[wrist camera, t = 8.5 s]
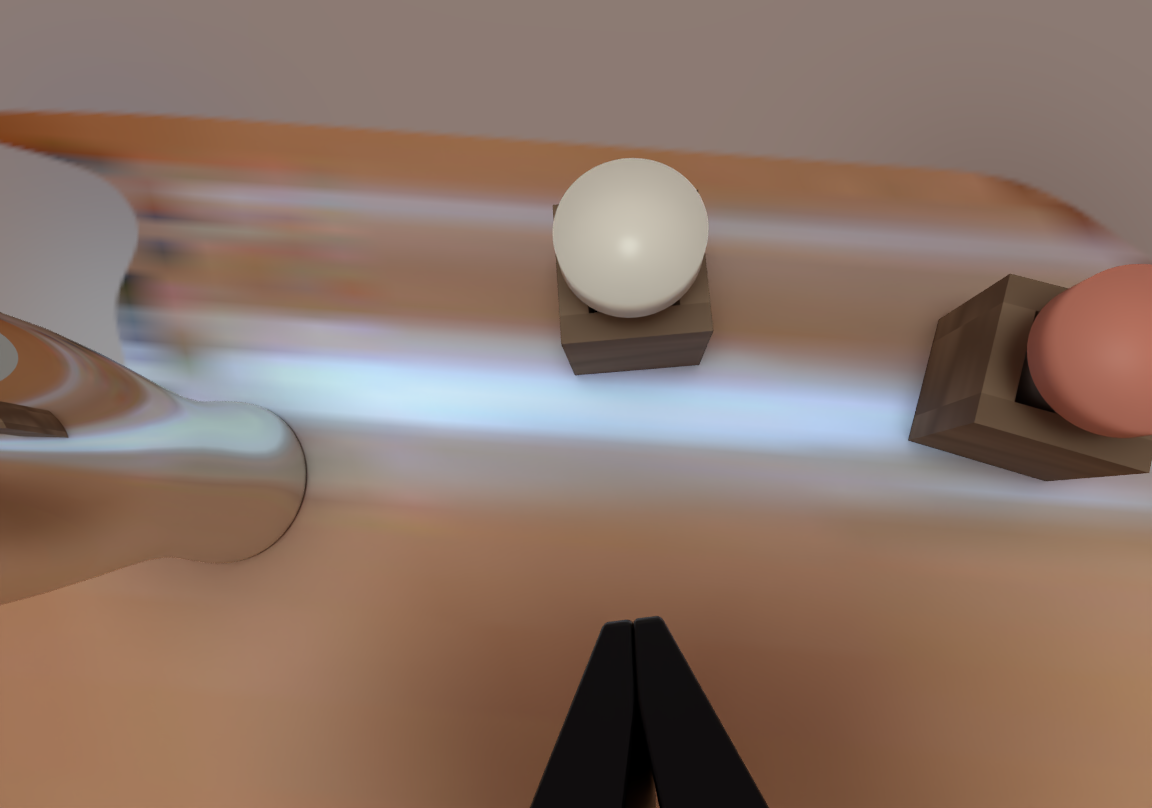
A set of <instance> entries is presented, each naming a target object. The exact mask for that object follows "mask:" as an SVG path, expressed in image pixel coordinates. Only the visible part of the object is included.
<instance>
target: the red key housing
mask: <svg viewBox="0 0 1152 808" xmlns="http://www.w3.org/2000/svg"><path fill="white" fill-rule="evenodd" d="M1067 289H1068V288H1064V287H1060V286H1056V285H1052V284H1048V283H1044V282H1040V281H1037V280H1033V279H1029V278H1025V277H1021V276H1017V275H1013V274H1009V275H1007V276H1006V277H1004V278H1003V279H1001V280H1000V281H998V282H997V283H995V284H993V285H992V286H990V287H989V288H987V289H986V290H984V291H983V292H981V293H979V294H978V295H976V296H975V297H973V298H972V299H970V300H969V301H967V302H965V303H964V304H962V305H961V306H959V307H958V308H956V309H955V310H953V311H951V312H950V313H948V314H947V315H945V316H944V317H942V318H941V319H939V322H938V326H937V330H936V334H935V338H934V342H933V346H932V350H931V354H930V357H929V361H928V365H927V369H926V373H925V377H924V381H923V385H922V389H921V393H920V397H919V401H918V405H917V408H916V412H915V416H914V420H913V424H912V428H911V432H910V436H909V441H912V442H916V443H919V444H922V445H926V446H929V447H933V448H936V449H939V450H943V451H946V452H949V453H953V454H956V455H960V456H963V457H966V458H970V459H973V460H976V461H980V462H983V463H987V464H990V465H993V466H997V467H1000V468H1003V469H1007V470H1010V471H1014V472H1017V473H1020V474H1024V475H1027V476H1030V477H1034V478H1037V479H1041V480H1044V481H1054V480H1067V479H1079V478H1092V477H1104V476H1117V475H1129V474H1141V473H1149V471H1150V466H1151V461H1152V435H1147V436H1141V437H1134V438H1114V437H1106V436H1102V435H1097V434H1094V433H1091V432H1088V431H1086V430H1083V429H1081V428H1079V427H1077V426H1075V425H1073V424H1072V423H1070V422H1069V421H1067V420H1065V419H1064V418H1063V417H1062V416H1060V415H1059V414H1058V413H1057V412H1054V413H1052V412H1049V411H1045V410H1042V409H1038V408H1034V407H1031V406H1027V405H1024V404H1020V403H1017V402H1015V397H1016V393H1017V389H1018V385H1019V380H1020V376H1021V372H1022V368H1023V363H1024V359H1025V355H1026V352H1027V343H1028V336H1029V333H1030V330H1031V327H1032V324H1033V322H1034V320H1035V318H1036V317H1037V315H1038V314H1039V312H1040V311H1041V309H1042V308H1043V307H1044V306H1045V305H1046V304H1047V303H1048V302H1049V301H1050V300H1052V299H1053V298H1054V297H1055V296H1057V295H1058V294H1060V293H1062V292H1063V291H1065V290H1067Z"/></svg>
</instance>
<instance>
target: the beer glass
mask: <svg viewBox="0 0 1152 808" xmlns="http://www.w3.org/2000/svg"><path fill="white" fill-rule="evenodd" d="M305 484H306V465H305V459H304V455H303V451H302V448H301V446H300V443H299V441H298V439H297V437H296V436H295V434H294V433H293V431H292V430H291V428H290V427H289V426H288V425H287V424H286V423H285V422H284V421H283V420H282V419H281V418H280V417H278V416H277V415H276V414H274V413H273V412H271V411H269V410H267V409H265V408H263V407H260V406H257V405H254V404H249V403H244V402H233V401H197V400H192V399H189V398H186V397H183V396H180V395H178V394H176V393H174V392H172V391H170V390H168V389H166V388H164V387H162V386H160V385H158V384H156V383H154V382H153V381H151V380H149V379H147V378H145V377H144V376H142V375H140V374H138V373H136V372H134V371H133V370H131V369H129V368H127V367H125V366H123V365H121V364H119V363H117V362H115V361H114V360H112V359H110V358H108V357H106V356H104V355H102V354H100V353H98V352H96V351H94V350H92V349H90V348H88V347H86V346H83V345H81V344H79V343H77V342H75V341H73V340H70V339H68V338H66V337H64V336H62V335H59V334H57V333H55V332H53V331H51V330H49V329H46V328H44V327H41V326H38V325H35V324H32V323H30V322H27V321H24V320H21V319H18V318H15V317H13V316H10V315H7V314H4V313H1V312H0V605H4V604H7V603H11V602H15V601H19V600H22V599H26V598H30V597H34V596H37V595H41V594H45V593H48V592H51V591H54V590H57V589H61V588H64V587H67V586H70V585H73V584H76V583H79V582H82V581H86V580H89V579H92V578H95V577H98V576H101V575H104V574H107V573H110V572H113V571H116V570H119V569H122V568H125V567H128V566H131V565H135V564H138V563H141V562H145V561H148V560H153V559H159V558H180V559H185V560H191V561H197V562H204V563H216V564H219V563H232V562H237V561H241V560H245V559H247V558H250V557H252V556H254V555H256V554H258V553H260V552H262V551H264V550H265V549H267V548H268V547H270V546H271V545H272V544H273V543H275V542H276V541H277V540H278V539H279V538H280V537H281V536H282V535H283V534H284V532H285V531H286V530H287V529H288V527H289V526H290V524H291V523H292V521H293V520H294V518H295V516H296V514H297V512H298V510H299V507H300V505H301V502H302V499H303V495H304V490H305Z"/></svg>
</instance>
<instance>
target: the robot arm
mask: <svg viewBox="0 0 1152 808" xmlns="http://www.w3.org/2000/svg"><path fill="white" fill-rule="evenodd" d="M655 788H656V793H657V797H658V802H659V806H660V808H769V807H768V805H767V803H766V802H765V800H764V798H763V796H762V794H761V793H760V791H759V789H758V787H757V786H756V784H755V782H754V780H753V778H752V777H751V775H750V773H749V771H748V770H747V768H746V766H745V764H744V762H743V761H742V759H741V757H740V755H739V754H738V752H737V750H736V748H735V746H734V745H733V743H732V741H731V739H730V738H729V736H728V734H727V732H726V730H725V729H724V727H723V725H722V723H721V722H720V720H719V718H718V716H717V715H716V713H715V711H714V709H713V707H712V706H711V704H710V702H709V700H708V699H707V697H706V695H705V693H704V691H703V690H702V688H701V686H700V684H699V683H698V681H697V679H696V677H695V675H694V674H693V672H692V670H691V668H690V667H689V665H688V663H687V661H686V659H685V658H684V656H683V654H682V652H681V651H680V649H679V647H678V645H677V643H676V642H675V640H674V638H673V636H672V635H671V633H670V631H669V629H668V627H667V626H666V624H665V622H664V620H663V619H662V618H661V617H659V616H653V617H645V618H638V619H636V620H635V621H634V623H632V621H630V620H620V621H612V622H607V623H605V624H604V625H603V627H602V629H601V631H600V634H599V636H598V639H597V641H596V644H595V646H594V649H593V651H592V654H591V656H590V659H589V661H588V664H587V666H586V669H585V671H584V674H583V676H582V679H581V681H580V684H579V686H578V689H577V691H576V694H575V696H574V699H573V701H572V704H571V706H570V709H569V711H568V714H567V716H566V719H565V721H564V724H563V726H562V729H561V731H560V734H559V736H558V739H557V741H556V744H555V746H554V749H553V751H552V753H551V756H550V758H549V761H548V763H547V766H546V768H545V771H544V773H543V776H542V778H541V781H540V783H539V786H538V788H537V791H536V793H535V796H534V798H533V801H532V803H531V806H530V808H656V795H655Z"/></svg>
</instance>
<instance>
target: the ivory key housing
mask: <svg viewBox="0 0 1152 808" xmlns="http://www.w3.org/2000/svg"><path fill="white" fill-rule="evenodd" d="M697 192H698V190H697ZM558 205H559V204H558ZM558 205H553V218H554V217H555V214H556V210H557V208H558ZM556 266H557V282H558V298H559V314H560V330H561V344H562V347H563V349H564V351H565V354H566V356H567V358H568V360H569V363H570V365H571V367H572V369H573V372H574V374H575V375H582V374H594V373H606V372H618V371H630V370H642V369H654V368H666V367H678V366H690V365H699V363H700V361H701V359H702V356H703V354H704V351H705V349H706V347H707V344H708V342H709V340H710V337H711V335H712V332H713V325H712V315H711V306H710V297H709V287H708V278H707V268H706V259H705V253H704V257H703V261H702V265H701V268H700V271H699V273H698V276H697V278H696V279H695V281H694V283H693V284H692V286H691V287H690V288H689V290H688V291H687V292H686V293H685V294H684V295H683V296H682V297H681V298H680V299H679V300H678V301H676V302H675V303H674V304H673V305H671V306H669V307H667V308H666V309H664V310H662V311H659V312H657V313H655V314H651V315H648V316H643V317H636V318H623V317H615V316H611V315H607V314H604V313H601V312H598V313H595V312H594V309H593V308H591V307H589V306H588V305H586V304H585V303H584V302H582V301H581V300H580V299H579V298H578V297H577V296H576V295H575V294H574V293H573V292H572V290H571V289H570V288H569V286H568V284H567V283H566V281H565V279H564V277H563V275H562V272H561V269H560V266H559V262H558V259H557V256H556Z"/></svg>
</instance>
